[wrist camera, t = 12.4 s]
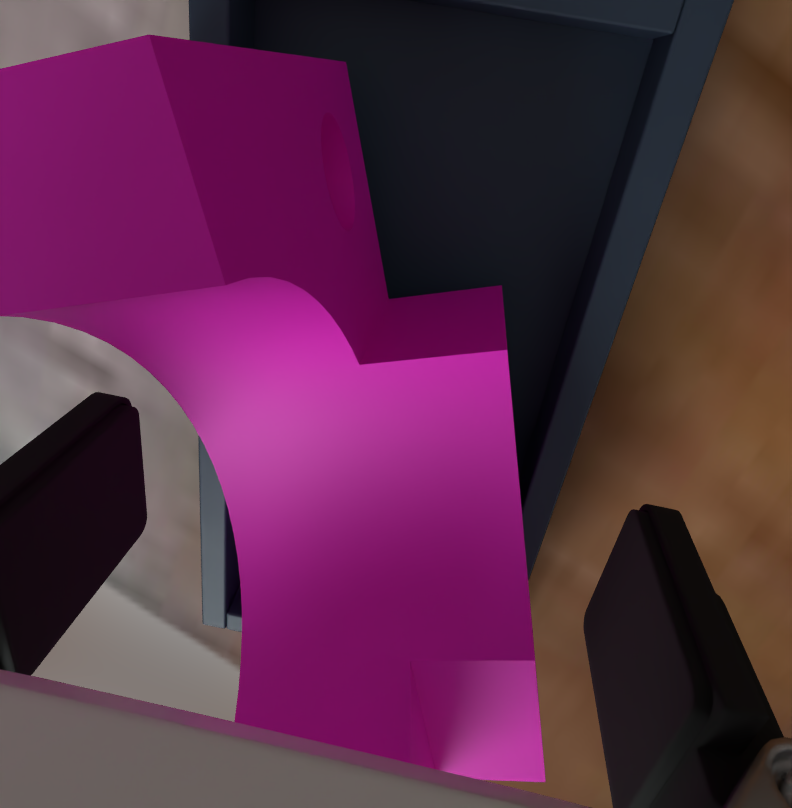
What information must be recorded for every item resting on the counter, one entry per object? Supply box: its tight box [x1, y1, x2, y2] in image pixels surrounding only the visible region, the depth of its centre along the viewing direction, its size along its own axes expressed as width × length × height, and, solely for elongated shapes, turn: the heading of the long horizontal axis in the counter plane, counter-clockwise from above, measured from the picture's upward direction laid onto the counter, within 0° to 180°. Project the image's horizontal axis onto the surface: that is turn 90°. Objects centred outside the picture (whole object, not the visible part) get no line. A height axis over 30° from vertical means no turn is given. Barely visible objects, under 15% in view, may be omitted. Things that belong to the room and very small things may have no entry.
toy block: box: [0, 35, 545, 782], centre depth 11 cm, size 15×6×8 cm, turn 10°
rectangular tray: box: [189, 0, 734, 632], centre depth 16 cm, size 10×19×2 cm, turn 172°
